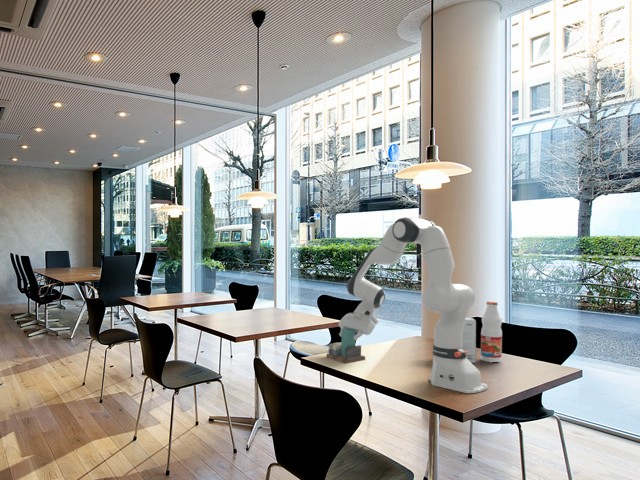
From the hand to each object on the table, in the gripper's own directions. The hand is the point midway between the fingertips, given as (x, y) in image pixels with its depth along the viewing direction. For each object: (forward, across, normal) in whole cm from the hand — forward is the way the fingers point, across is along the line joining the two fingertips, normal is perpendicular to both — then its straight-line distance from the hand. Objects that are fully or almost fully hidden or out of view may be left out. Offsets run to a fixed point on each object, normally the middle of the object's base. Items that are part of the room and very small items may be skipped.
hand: (347, 337), depth 216 cm
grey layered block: (+7, -1, +8) cm, 10 cm away
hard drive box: (-23, +31, +38) cm, 54 cm away
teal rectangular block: (+6, 0, +7) cm, 9 cm away
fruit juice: (-33, +40, +47) cm, 70 cm away
